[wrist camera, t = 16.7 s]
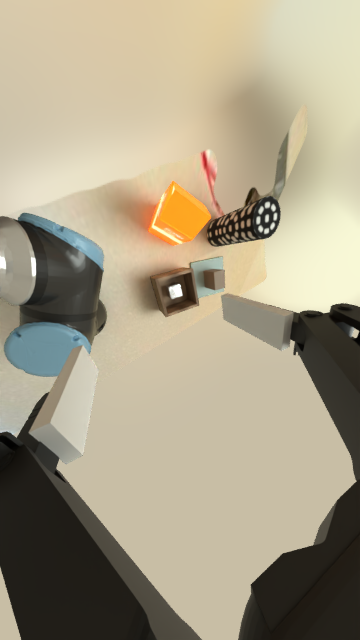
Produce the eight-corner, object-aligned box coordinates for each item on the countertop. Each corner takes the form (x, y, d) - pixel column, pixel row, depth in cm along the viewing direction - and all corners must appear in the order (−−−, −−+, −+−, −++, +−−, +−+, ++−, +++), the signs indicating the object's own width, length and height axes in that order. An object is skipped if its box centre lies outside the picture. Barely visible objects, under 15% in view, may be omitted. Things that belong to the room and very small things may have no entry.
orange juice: (173, 246, 48) (203, 237, 31) (147, 231, 44) (165, 211, 27) (182, 221, 47) (220, 197, 29) (156, 203, 43) (182, 163, 25)
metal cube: (168, 296, 53) (171, 299, 49) (165, 285, 51) (168, 287, 47) (178, 293, 54) (182, 295, 50) (175, 282, 52) (180, 283, 48)
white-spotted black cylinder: (228, 243, 55) (279, 235, 37) (208, 248, 53) (252, 241, 35) (226, 217, 51) (281, 193, 34) (205, 221, 49) (252, 198, 32)
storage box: (159, 310, 54) (165, 317, 47) (150, 276, 49) (155, 279, 42) (189, 300, 57) (199, 305, 50) (183, 267, 52) (193, 268, 45)
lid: (193, 298, 58) (204, 303, 51) (189, 263, 52) (200, 263, 45) (222, 290, 61) (235, 294, 54) (220, 256, 56) (235, 255, 49)
